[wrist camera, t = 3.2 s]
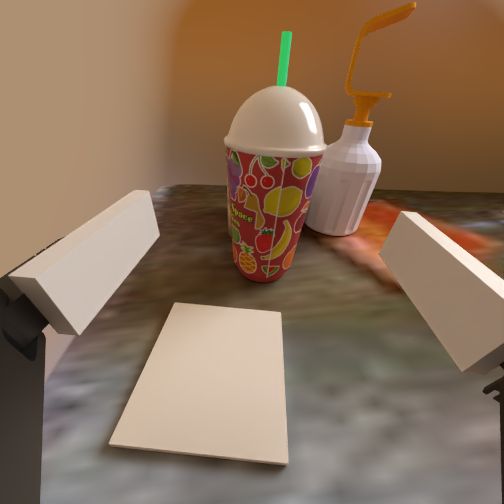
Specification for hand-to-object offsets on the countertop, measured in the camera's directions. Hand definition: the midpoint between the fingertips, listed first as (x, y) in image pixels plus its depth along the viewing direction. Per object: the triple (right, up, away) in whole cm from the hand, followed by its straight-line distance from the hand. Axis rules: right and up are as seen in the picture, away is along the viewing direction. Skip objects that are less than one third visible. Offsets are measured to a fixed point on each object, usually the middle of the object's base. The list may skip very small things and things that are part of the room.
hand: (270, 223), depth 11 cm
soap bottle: (+12, +3, +24) cm, 27 cm away
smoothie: (0, -4, +14) cm, 15 cm away
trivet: (-4, -10, +4) cm, 12 cm away
